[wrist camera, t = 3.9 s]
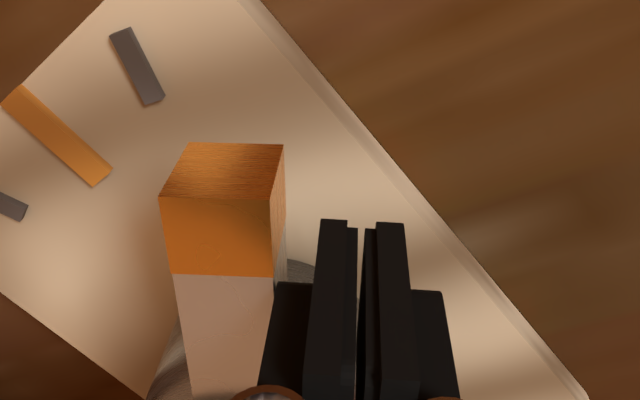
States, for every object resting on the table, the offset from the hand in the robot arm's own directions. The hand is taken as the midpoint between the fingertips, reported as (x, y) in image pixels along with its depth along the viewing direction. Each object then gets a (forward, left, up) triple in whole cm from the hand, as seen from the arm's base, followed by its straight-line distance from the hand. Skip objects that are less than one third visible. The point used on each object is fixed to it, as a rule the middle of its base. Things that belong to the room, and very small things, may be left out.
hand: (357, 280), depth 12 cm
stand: (-3, +5, -6) cm, 8 cm away
